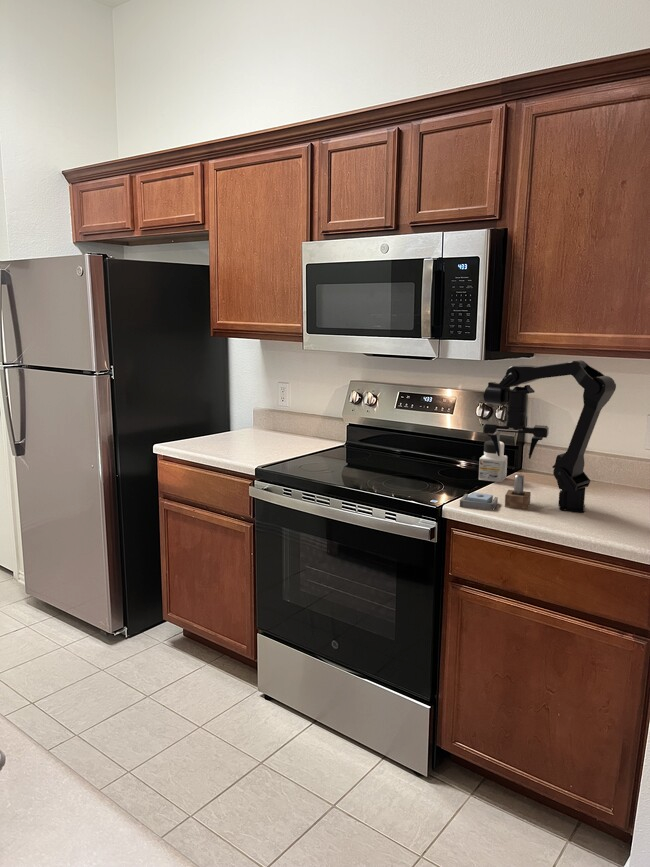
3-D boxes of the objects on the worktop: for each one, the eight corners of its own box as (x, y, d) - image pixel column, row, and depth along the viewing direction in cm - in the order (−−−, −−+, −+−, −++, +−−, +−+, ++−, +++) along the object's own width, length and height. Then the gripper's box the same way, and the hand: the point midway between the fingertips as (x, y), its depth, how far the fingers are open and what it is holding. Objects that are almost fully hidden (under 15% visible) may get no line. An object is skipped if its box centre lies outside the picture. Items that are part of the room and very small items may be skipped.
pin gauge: (522, 504, 195) (524, 474, 193) (521, 506, 192) (523, 476, 191) (513, 503, 196) (515, 473, 194) (512, 505, 193) (514, 475, 192)
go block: (530, 503, 196) (530, 491, 195) (527, 509, 190) (528, 497, 189) (507, 500, 198) (508, 489, 197) (504, 506, 192) (505, 495, 192)
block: (492, 504, 195) (492, 494, 195) (486, 509, 190) (487, 499, 190) (472, 501, 198) (473, 491, 198) (466, 506, 193) (466, 496, 193)
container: (478, 479, 223) (480, 442, 220) (484, 474, 229) (485, 438, 227) (501, 482, 219) (503, 444, 217) (506, 477, 226) (508, 440, 224)
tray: (497, 503, 196) (497, 497, 195) (493, 510, 189) (493, 504, 188) (465, 499, 200) (465, 493, 199) (459, 506, 192) (459, 500, 192)
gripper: (551, 405, 203) (548, 454, 206) (490, 402, 210) (488, 449, 213) (548, 410, 193) (545, 462, 196) (484, 406, 200) (481, 456, 203)
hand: (514, 457), depth 202 cm, fingers open, 9 cm apart
